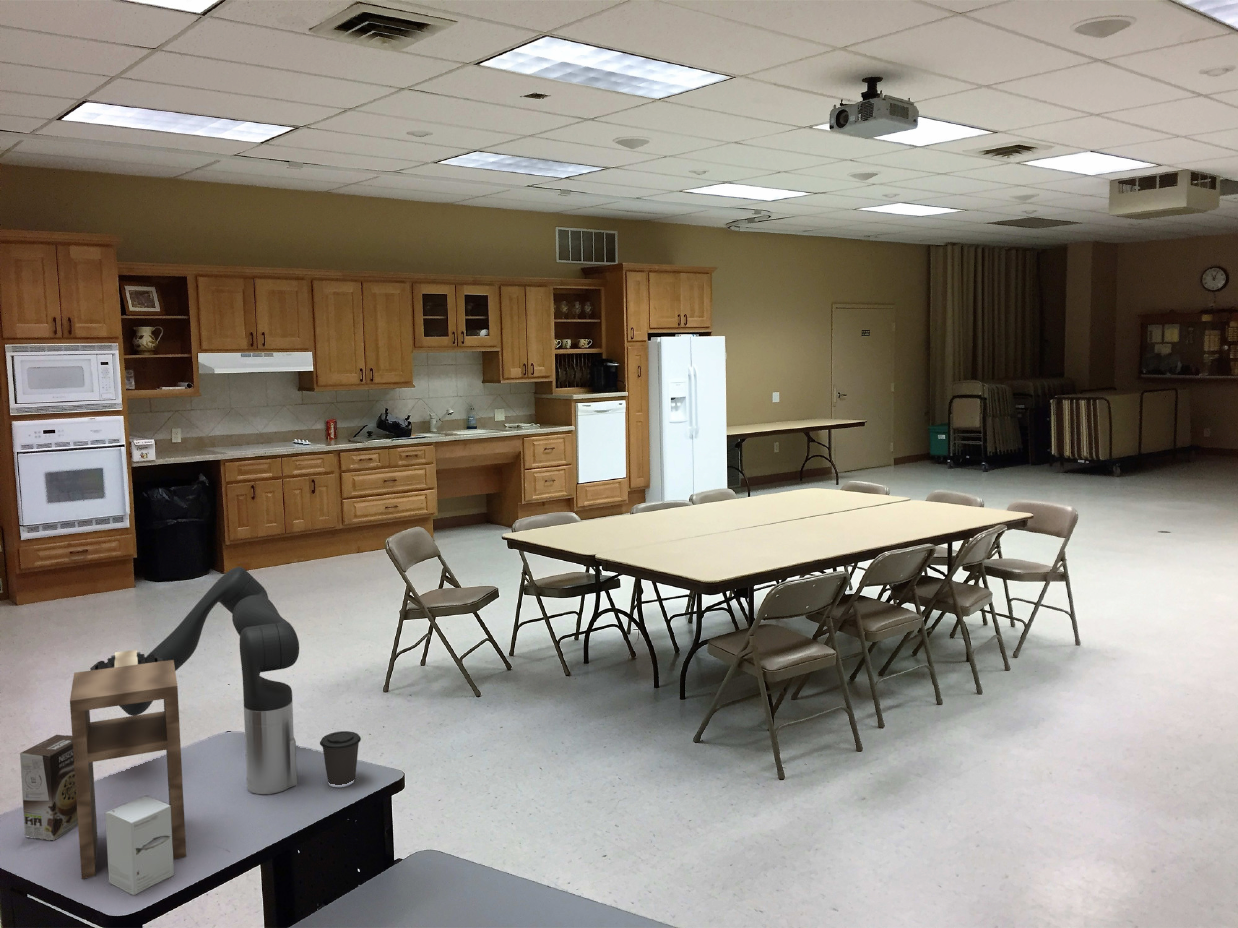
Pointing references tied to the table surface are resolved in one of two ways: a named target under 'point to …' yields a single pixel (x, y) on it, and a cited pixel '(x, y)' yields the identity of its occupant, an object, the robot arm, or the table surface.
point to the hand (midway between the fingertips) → (125, 658)
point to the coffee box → (49, 788)
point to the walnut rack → (124, 740)
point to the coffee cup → (340, 756)
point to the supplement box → (139, 844)
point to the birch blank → (126, 658)
